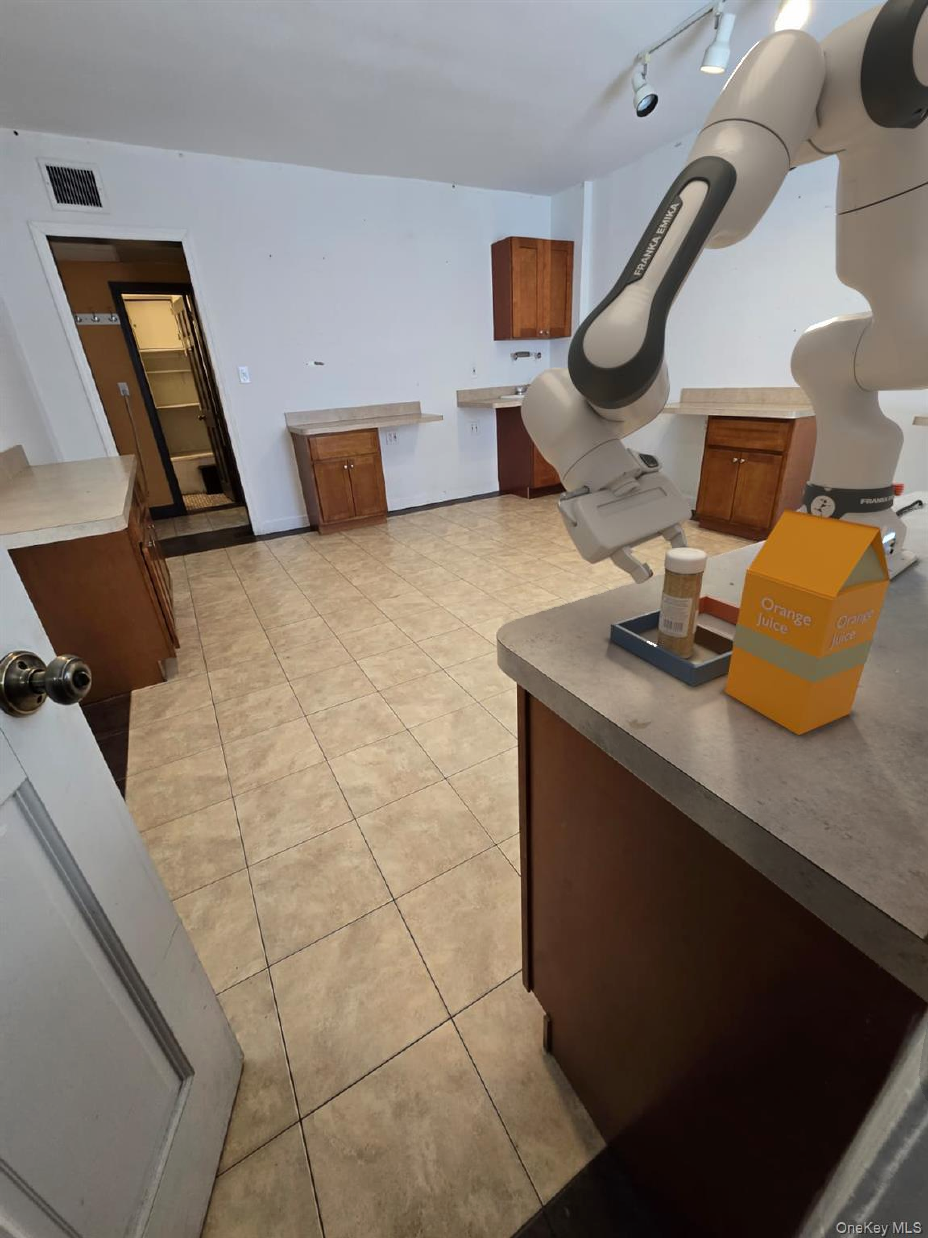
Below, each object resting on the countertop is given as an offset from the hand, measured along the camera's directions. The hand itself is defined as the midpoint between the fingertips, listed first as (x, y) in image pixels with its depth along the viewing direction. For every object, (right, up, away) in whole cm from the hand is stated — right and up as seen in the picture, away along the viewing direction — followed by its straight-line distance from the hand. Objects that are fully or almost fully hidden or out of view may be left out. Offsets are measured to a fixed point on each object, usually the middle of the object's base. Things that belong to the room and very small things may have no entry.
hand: (667, 569), depth 63 cm
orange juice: (+9, -15, -8) cm, 20 cm away
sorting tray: (+6, -9, +5) cm, 12 cm away
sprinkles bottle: (+2, -11, +3) cm, 11 cm away
